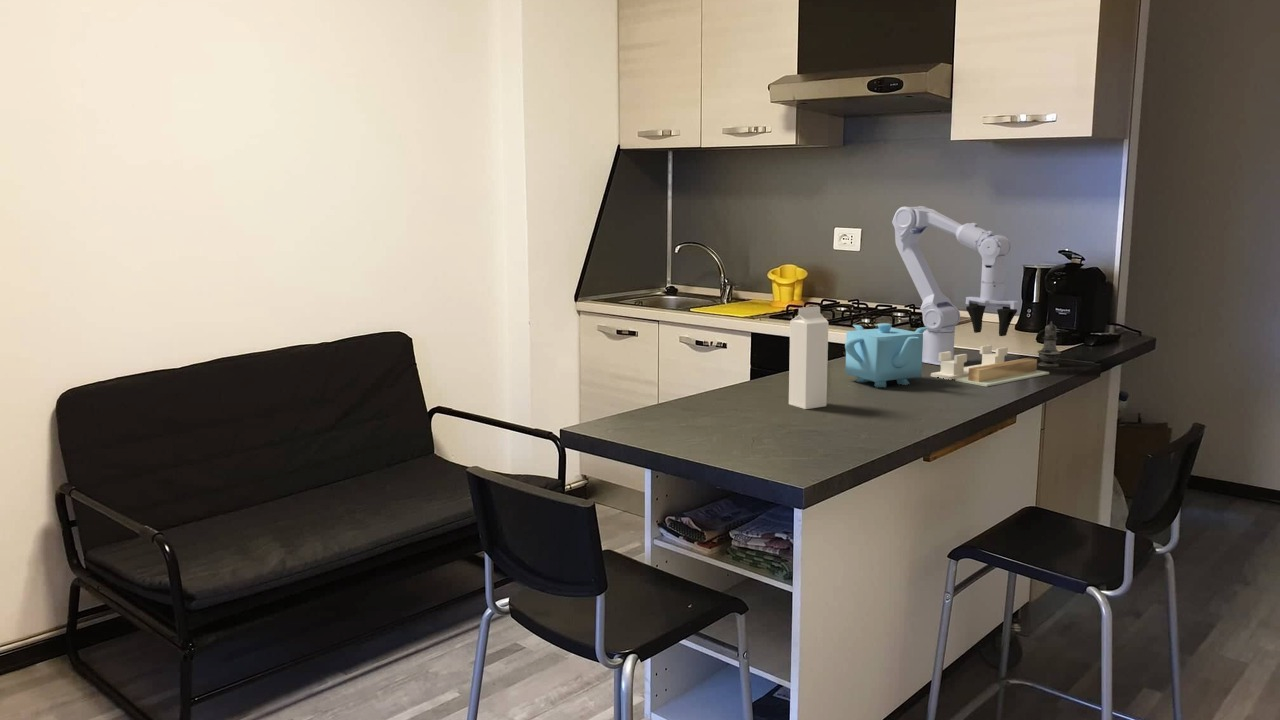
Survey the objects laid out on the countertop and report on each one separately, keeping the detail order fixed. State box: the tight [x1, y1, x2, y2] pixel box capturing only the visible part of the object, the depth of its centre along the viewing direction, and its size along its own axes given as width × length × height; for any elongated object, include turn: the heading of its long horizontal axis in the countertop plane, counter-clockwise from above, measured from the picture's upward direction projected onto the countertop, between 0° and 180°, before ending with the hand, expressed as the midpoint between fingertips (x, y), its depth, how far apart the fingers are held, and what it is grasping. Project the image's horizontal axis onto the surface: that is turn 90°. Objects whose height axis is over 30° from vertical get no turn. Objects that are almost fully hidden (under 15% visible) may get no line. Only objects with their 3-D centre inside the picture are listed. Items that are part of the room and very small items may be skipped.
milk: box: [788, 305, 829, 410], centre depth 212 cm, size 6×6×22 cm
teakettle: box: [844, 322, 929, 388], centre depth 238 cm, size 19×19×15 cm
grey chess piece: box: [1037, 320, 1062, 368], centre depth 258 cm, size 6×6×12 cm
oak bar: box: [968, 357, 1038, 382], centre depth 243 cm, size 3×24×3 cm, turn 125°
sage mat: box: [954, 369, 1050, 387], centre depth 243 cm, size 9×26×1 cm, turn 125°
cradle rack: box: [930, 344, 1009, 381], centre depth 250 cm, size 6×26×6 cm, turn 125°
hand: (989, 334), depth 253 cm, fingers open, 7 cm apart
